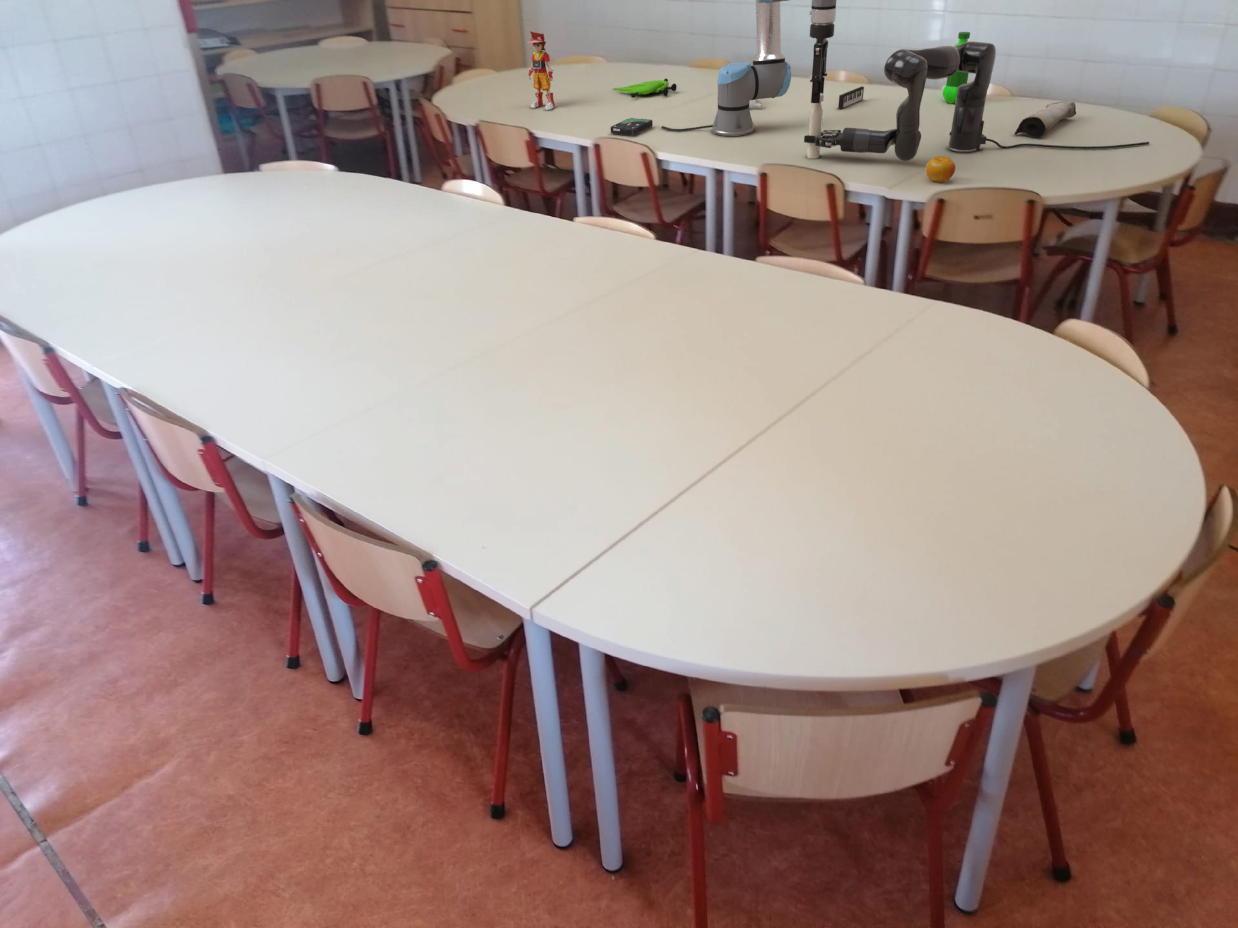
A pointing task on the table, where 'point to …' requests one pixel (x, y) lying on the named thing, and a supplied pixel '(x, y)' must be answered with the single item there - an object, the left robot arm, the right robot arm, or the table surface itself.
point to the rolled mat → (1046, 118)
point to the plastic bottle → (956, 75)
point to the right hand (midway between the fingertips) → (806, 137)
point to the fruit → (940, 169)
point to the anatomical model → (754, 104)
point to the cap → (821, 97)
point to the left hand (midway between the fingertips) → (817, 100)
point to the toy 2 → (648, 88)
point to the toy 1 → (541, 71)
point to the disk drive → (631, 126)
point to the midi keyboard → (850, 97)
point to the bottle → (815, 129)
